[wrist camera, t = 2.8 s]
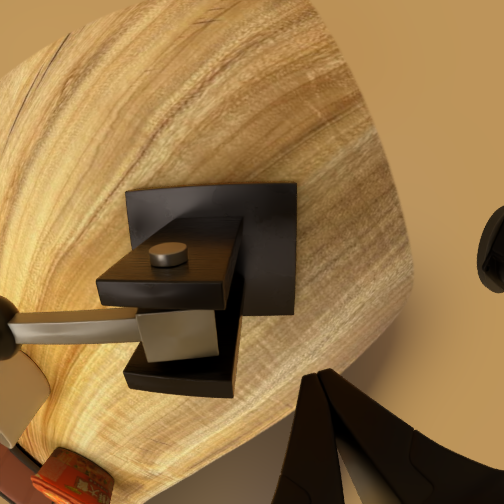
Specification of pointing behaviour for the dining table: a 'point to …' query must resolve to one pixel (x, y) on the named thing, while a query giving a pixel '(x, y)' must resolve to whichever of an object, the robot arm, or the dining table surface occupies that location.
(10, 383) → the mug
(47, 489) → the food container
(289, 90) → the dining table surface
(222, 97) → the dining table surface
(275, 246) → the bracket
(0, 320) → the lever
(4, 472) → the toaster
